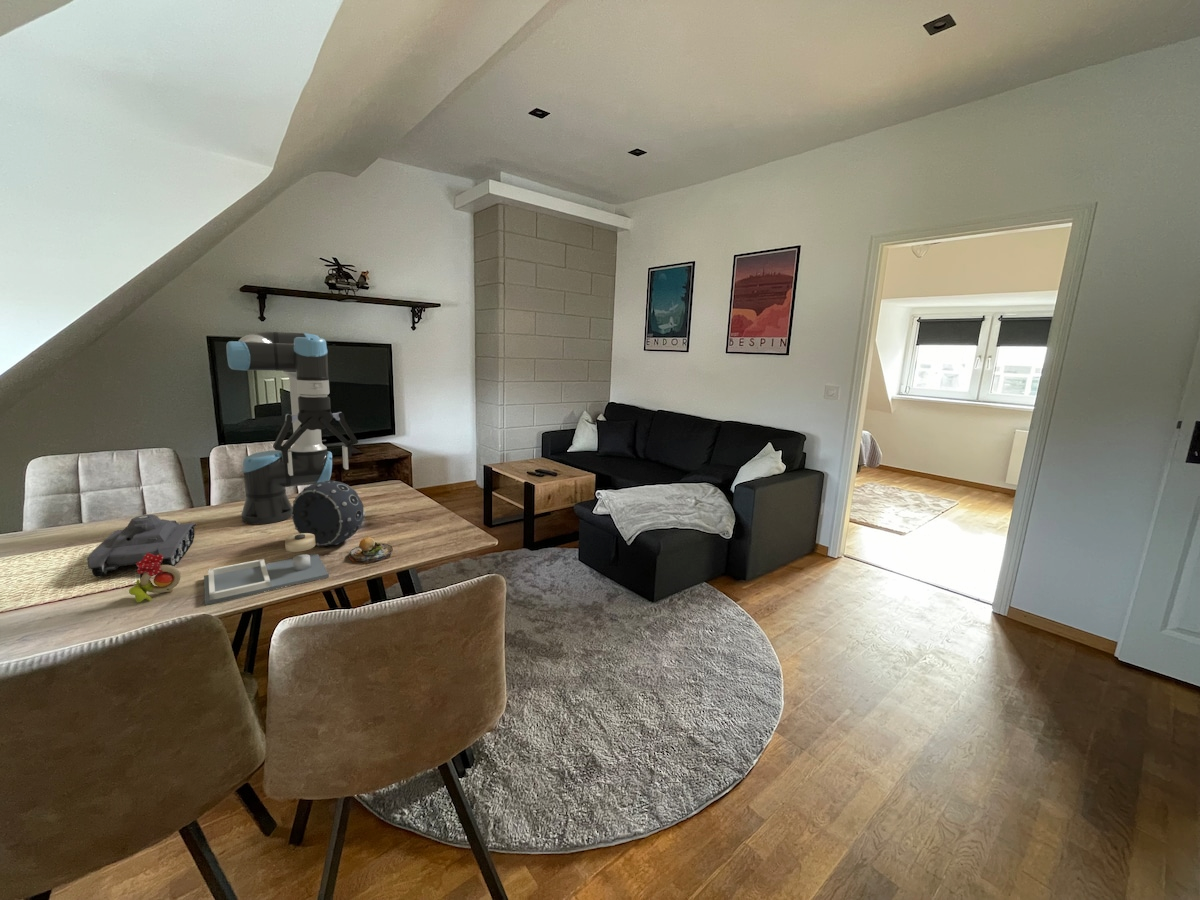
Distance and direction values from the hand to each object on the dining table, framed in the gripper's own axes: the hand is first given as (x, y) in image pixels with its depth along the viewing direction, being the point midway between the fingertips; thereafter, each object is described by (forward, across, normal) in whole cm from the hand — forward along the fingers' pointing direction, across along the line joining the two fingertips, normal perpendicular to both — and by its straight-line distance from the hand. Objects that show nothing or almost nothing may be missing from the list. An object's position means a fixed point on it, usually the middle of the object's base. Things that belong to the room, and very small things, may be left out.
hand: (319, 471), depth 134 cm
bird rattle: (+27, -36, +1) cm, 45 cm away
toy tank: (+27, -39, +28) cm, 55 cm away
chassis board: (+27, -14, -4) cm, 31 cm away
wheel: (+20, -6, -4) cm, 21 cm away
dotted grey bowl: (+27, +4, +13) cm, 30 cm away
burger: (+27, +12, -3) cm, 30 cm away
